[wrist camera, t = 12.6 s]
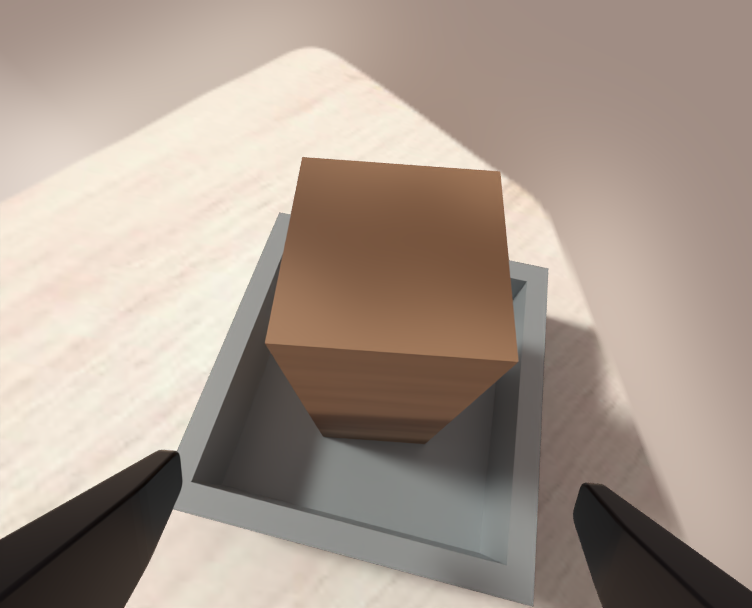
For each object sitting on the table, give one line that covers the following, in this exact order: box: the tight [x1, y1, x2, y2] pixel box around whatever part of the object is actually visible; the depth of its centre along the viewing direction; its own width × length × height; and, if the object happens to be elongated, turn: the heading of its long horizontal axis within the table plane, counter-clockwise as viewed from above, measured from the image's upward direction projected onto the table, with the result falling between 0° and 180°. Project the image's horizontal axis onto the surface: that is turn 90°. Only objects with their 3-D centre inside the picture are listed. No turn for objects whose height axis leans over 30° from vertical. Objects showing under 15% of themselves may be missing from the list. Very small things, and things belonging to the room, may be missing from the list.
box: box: [173, 212, 548, 607], centre depth 19 cm, size 14×14×4 cm
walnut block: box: [265, 157, 519, 444], centre depth 15 cm, size 5×5×13 cm
